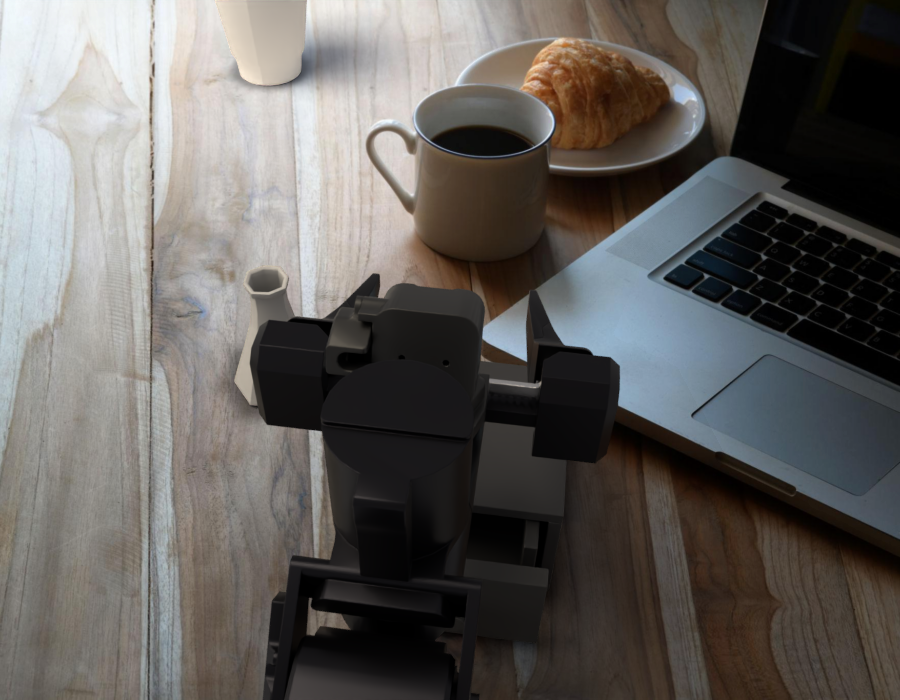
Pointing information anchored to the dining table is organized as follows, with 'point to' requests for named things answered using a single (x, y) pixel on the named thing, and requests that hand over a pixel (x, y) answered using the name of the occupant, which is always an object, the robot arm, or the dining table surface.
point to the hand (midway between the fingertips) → (454, 286)
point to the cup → (265, 38)
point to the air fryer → (520, 476)
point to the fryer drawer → (506, 577)
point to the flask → (262, 315)
